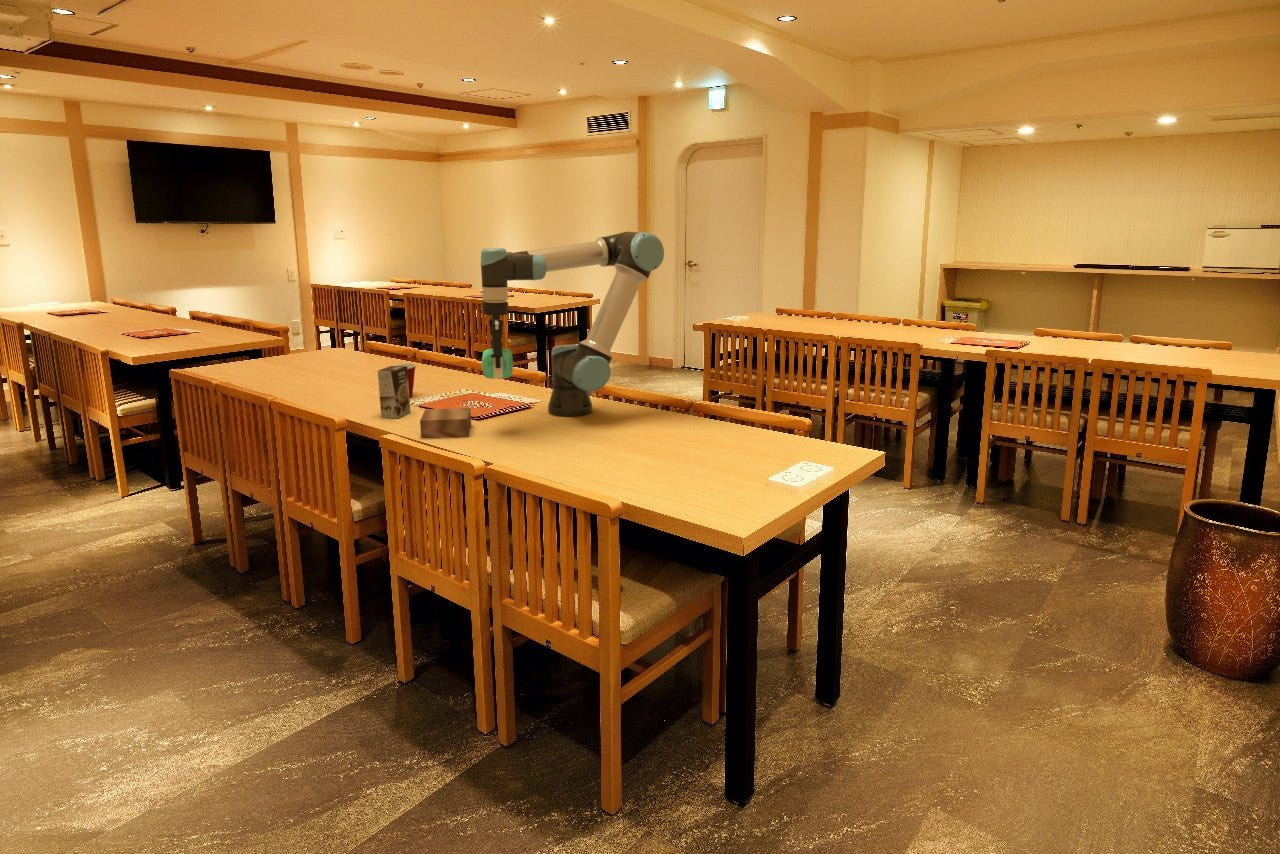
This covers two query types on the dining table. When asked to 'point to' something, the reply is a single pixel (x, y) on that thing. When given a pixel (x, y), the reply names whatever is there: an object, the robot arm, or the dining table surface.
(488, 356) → the decorative dice
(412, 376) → the plastic cup
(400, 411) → the coffee box
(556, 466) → the dining table surface
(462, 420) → the walnut block
